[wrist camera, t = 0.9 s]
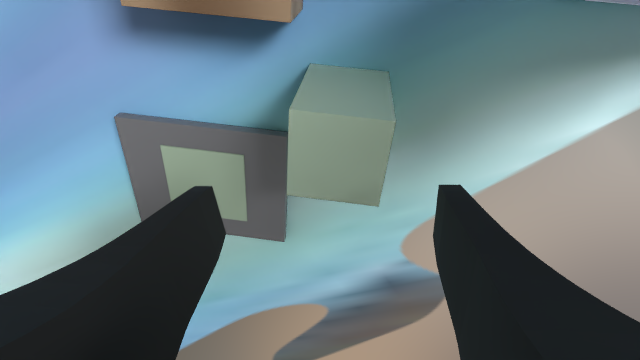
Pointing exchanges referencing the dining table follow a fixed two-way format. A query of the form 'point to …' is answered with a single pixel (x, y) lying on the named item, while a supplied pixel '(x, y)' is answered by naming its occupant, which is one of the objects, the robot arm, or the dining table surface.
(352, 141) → the sage block
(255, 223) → the card
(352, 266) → the dining table surface
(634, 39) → the dining table surface
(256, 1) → the walnut slab
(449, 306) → the robot arm
